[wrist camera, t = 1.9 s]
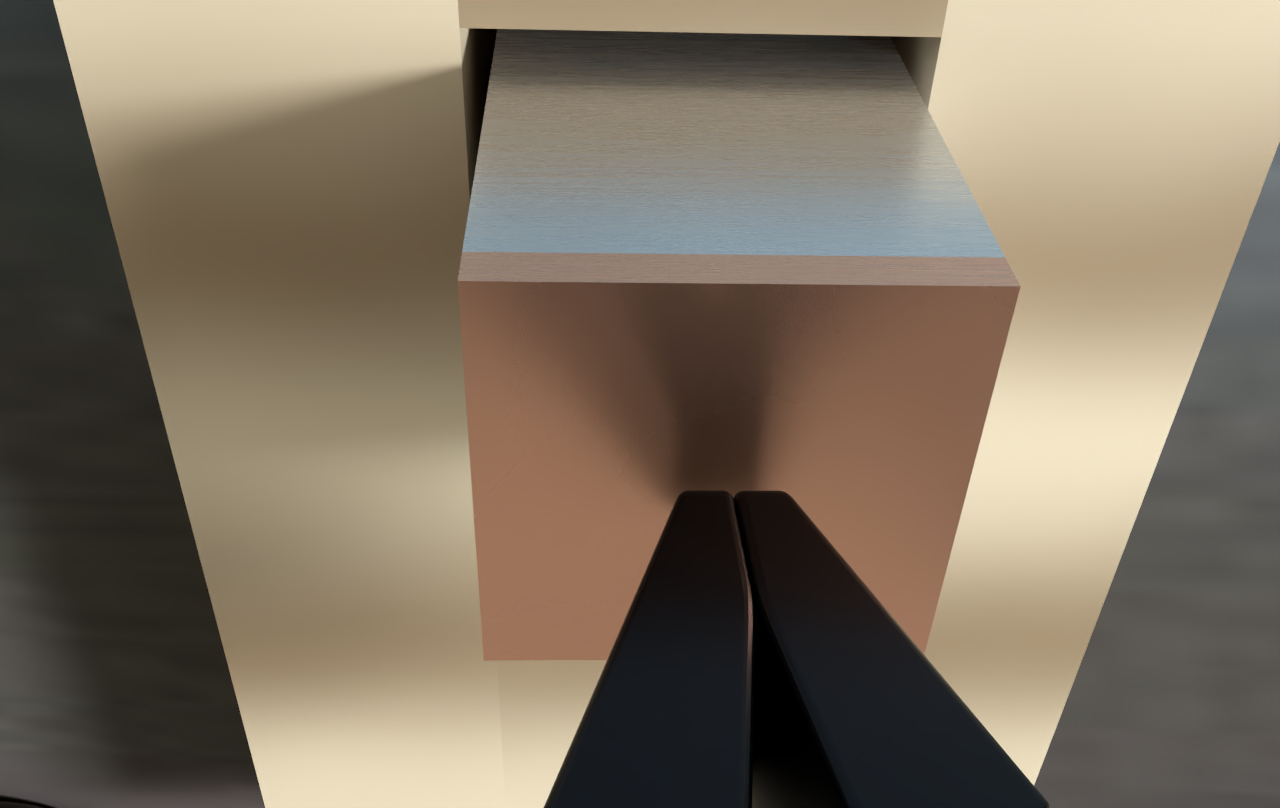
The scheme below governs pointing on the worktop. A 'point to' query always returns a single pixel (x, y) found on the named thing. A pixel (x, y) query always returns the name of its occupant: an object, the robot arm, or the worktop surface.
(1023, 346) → the socket block
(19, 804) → the supplement bottle
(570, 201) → the peg
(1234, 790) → the worktop surface
